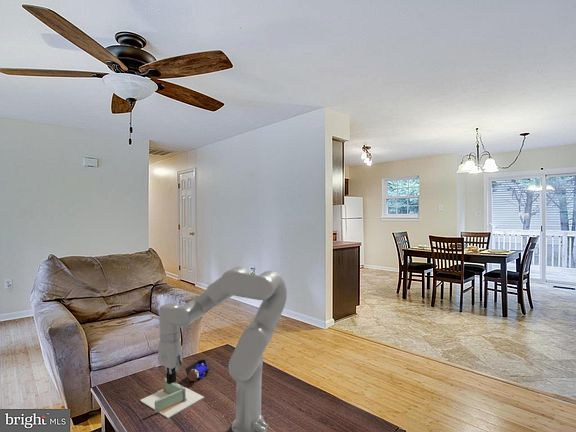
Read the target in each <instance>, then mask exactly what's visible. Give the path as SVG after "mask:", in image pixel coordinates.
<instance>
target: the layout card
mask: <svg viewBox="0 0 576 432" xmlns="http://www.w3.org/2000/svg"><path fill="white" fill-rule="evenodd" d="M174 384H176V385H178V386H180V387H182V388H185V389H186V399H185V400H184V401H181V402H179V403H177V404H175V405H172V406H170V407H168V408H166V409H164V410H162V411H159V412H157V413H158V414H160V415H162V416H163V417H165V419H169V418H171V417H173V416H175V415H177V414H179V413H181V412H182V411H184V410H186V409H187V408H189V407H190V406H193V405H194V404H196V403H198V402H200V401H201V400H203V399H204V398H205V396H203V395H201V394H199V393H197V392H195V391H193V390H191V389H190V388H188V387H185V386H183V385H181V384H179V383H177V382H174ZM167 395H170V394H169V393H168V392H166V391H163V389H160V390H158V391H156V392H155V393H152V394H150V395H148V396H146V397H143V398H141V399H139V401H140V402H141V403H143V404H144V405H146V406H148V407H149V408H151V409H152V410H153V411H155V401H156V400H158V399H160V398H163V397H165V396H167Z"/></svg>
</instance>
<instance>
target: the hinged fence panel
mask: <svg viewBox="0 0 576 432" xmlns="http://www.w3.org/2000/svg"><path fill="white" fill-rule="evenodd" d="M185 399H186V389H185V388H183V389H181V390H179V391H177V392H174V393H172V394H170V395H167V396H165V397H163V398H160V399H158V400H156V401H155V410H154V413H155V414H157V413H158V412H159V411H162V410H164V409H166V408H168V407H170V406H172V405H175V404H177V403H179V402H181V401H184V400H185Z"/></svg>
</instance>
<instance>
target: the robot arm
mask: <svg viewBox="0 0 576 432" xmlns="http://www.w3.org/2000/svg"><path fill="white" fill-rule="evenodd" d="M233 296H234V297H240V298H244V299H245V298H246V299H250V300H257V301H262V302H261V303H260V305H259V307H258V309H257V310H258V311H257V312H256V314H255V316H254V318H253V320H252V322H250V323H249V325H248V326H247V327H246V328H245V329H244V331H243V332H242V333H241V336H240V338H239V340H238V342H237V344H236V346H235V349H234V350H233V352H232V354H231V357H230V359H229V361H228V374H229V376H230V377H231V378H232V379H233V380H234V381H235V385H236V387H235V419H234V420H233V421H232V422H231V432H267V431H268V427H269V423H266V420H264V415H262V383H263V382H262V377H263V376H262V375H263V366H264V365H263V363H264V353H265V350H266V349H267V346H268V345H269V343H270V342H271V339H272V337H273V334H274V331H275V329H276V327H277V325H278V324H279V323H278V322H279V320H280V318H281V315H282V314H283V311H284V309H285V306H286V301H287V296H288V291H287V285H286V283H285V280H284V279H283V277H282V276H281V275H280V274H279V273H278V272H276V271H275V270H266V271H264V272H262V273H260V274H259V275H256V274H250V273H249V270H247V268H245V267H243V266H236V267H233V268H231V269H229V270H226V271H225V272H223V274H222V275H221V277H219V278H218V279H216V280H215V281H214V282H212V283H210V284H209V285H208V286H207V287H206V290H204V291H203V292H202V293H201V294H200V295H198V296H196V297H195V298H194V299H192V300H191V301H189V302H187V303H185V304H183V305H181V306H179V305H178V303H171V302H170V303H166V304H162V305H161V306H160V307H159V311H158V312H159V317H158V318H159V341H158V348H157V361H158V364H159V365H160V366H163V367H164V369H165V375H166V378H167V383H168V384H172V383H174V384H175V383H177V372H178V371H180V370H181V369H182V368H181V366H182V365H183V351H182V348H183V347H182V342H181V327H187V326H189V325H191V324H192V323H194V322H195V321H197V320H198V319H200V318H202V316H204V315H205V314H207V313H208V312H209V311H211V310H213V308H216V307H217V306H220V305H222V304H223V303H224V302H226V301H228V300H229V299H230V298H232V297H233Z"/></svg>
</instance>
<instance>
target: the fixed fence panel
mask: <svg viewBox="0 0 576 432" xmlns="http://www.w3.org/2000/svg"><path fill="white" fill-rule="evenodd" d="M162 379H163V382H162V383H163V385H162V386H163V391H166V392H168V393H169V394H172V393H174V392H177V391H179V390H181V389H183V388H182V387H180V386H178V385H176V384H175V382H174V383H172V384H168V383H167V377H164V378H162Z"/></svg>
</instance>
